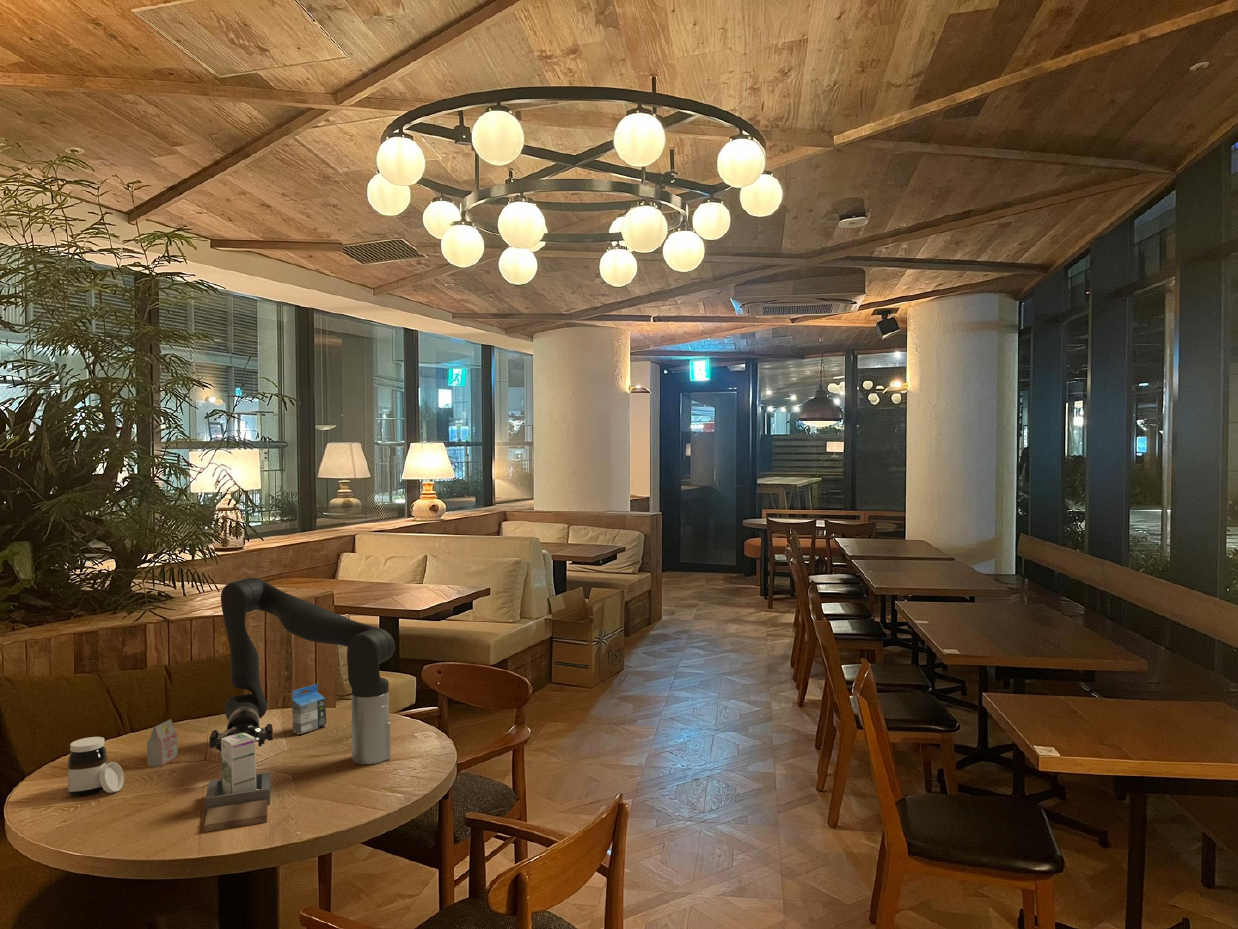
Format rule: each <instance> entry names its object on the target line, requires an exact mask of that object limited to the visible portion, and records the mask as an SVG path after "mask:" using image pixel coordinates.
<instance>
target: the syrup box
mask: <svg viewBox="0 0 1238 929" xmlns="http://www.w3.org/2000/svg"><path fill="white" fill-rule="evenodd" d="M256 752H257V751H256V742H255V737H253V736H251V735H249V734H247V733H239V734H234V735H230V736H227V737H225V738H221V751H220V753H221V754H220V755H221V779H222V795H225V794H232V793H239V792H246V791H252V790H256V789H257V788H256V774H257V756H256V755H257V754H256Z"/></svg>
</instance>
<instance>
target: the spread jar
mask: <svg viewBox="0 0 1238 929" xmlns="http://www.w3.org/2000/svg"><path fill="white" fill-rule="evenodd" d="M69 746H70V749H69V751H70V753H69V755H68V759H67V776H68V777H67V790H68V795H69V796H72V797H85V796H86V797H87V796H92V795H95V793H96V794H98V793H100V791H101V792H102V791H105V792H106V793H108V794H113V793H115V792H119V791H120V790H121V789H122V788H123V787H124V784H125V775H124V774H125V773H124V771H123V768H122V767H121V765H120V764H119V763H118V762H115V761H111V762H108V757H107V756H108V755H107V754H108V753H107V748H106V747H105V738H104V737H101V736H91V737H84V738H80V739H77V740H74V741H72V742H71V743H70V744H69Z"/></svg>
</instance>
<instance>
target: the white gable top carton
mask: <svg viewBox="0 0 1238 929" xmlns="http://www.w3.org/2000/svg"><path fill="white" fill-rule="evenodd" d="M146 751H147V753H146V757H147V758H146V763H147V767H152V768H153V767H156V768H158V767H159V768H160V767H163V766H164V765H167V764H169V763H170V762H171V761H173V760H176V759H177V758H178V756H179V755H178V733H177V731H176V729H175V726H174V724H173V720H172V719H171V718H170V719H168V720H166V721H163V722H162V723H160V724H157V725H156V726H153V728H152V731H151V735H150V736H149V739H148V740H147V742H146Z"/></svg>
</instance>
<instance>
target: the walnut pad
mask: <svg viewBox="0 0 1238 929" xmlns="http://www.w3.org/2000/svg"><path fill="white" fill-rule="evenodd" d="M262 823H268V805H267V799H265V800H259V801H252V802H246V803H239V804H233V805H226V806H220V807H213V808H208V810H207V814H205V820H204V823H203V824H204V825H203V826H204V830H203V831H204V833H208V832H214V831H221V830H227V829H232V828H233V829H234V828H238V827H244V826H250V825H257V824H262Z"/></svg>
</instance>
